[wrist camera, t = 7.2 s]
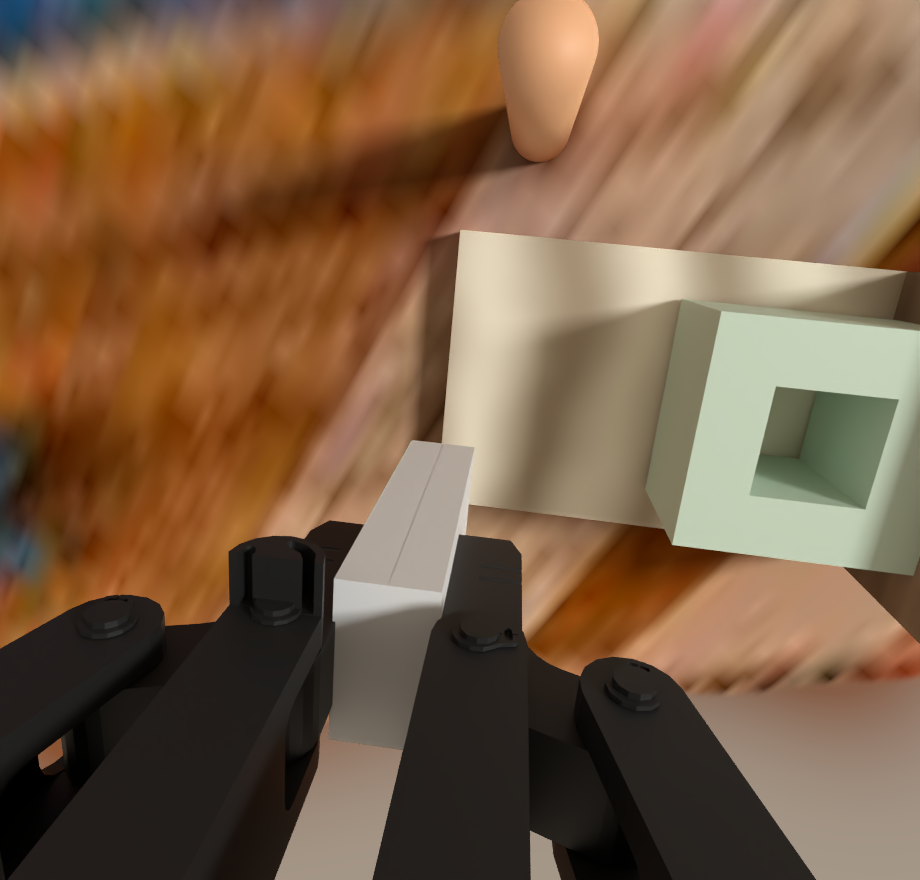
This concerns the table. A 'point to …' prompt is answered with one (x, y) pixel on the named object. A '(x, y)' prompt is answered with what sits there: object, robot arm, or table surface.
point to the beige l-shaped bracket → (618, 368)
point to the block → (824, 448)
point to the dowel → (545, 71)
